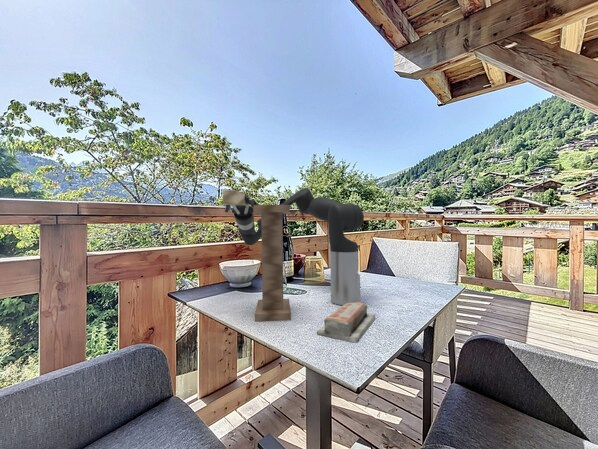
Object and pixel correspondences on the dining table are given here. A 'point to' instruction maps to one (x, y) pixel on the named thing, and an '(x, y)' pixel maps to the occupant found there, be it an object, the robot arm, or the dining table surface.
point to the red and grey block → (347, 322)
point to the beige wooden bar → (233, 197)
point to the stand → (272, 265)
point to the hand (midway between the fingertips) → (239, 195)
